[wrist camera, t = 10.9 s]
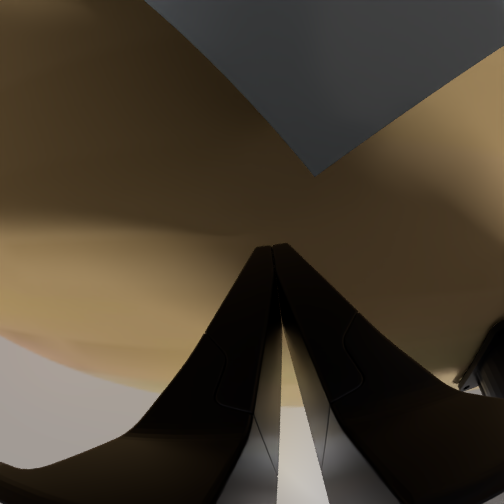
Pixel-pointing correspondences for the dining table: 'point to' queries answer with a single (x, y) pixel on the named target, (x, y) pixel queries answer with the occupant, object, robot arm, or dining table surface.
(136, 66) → the dining table surface
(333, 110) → the slate slab
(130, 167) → the dining table surface
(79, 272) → the dining table surface
